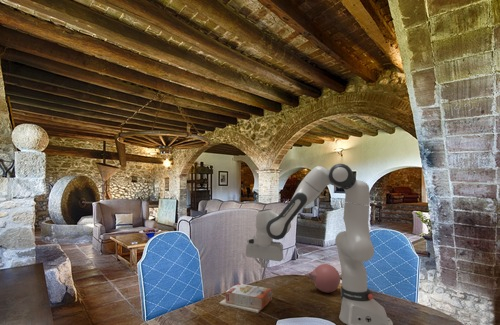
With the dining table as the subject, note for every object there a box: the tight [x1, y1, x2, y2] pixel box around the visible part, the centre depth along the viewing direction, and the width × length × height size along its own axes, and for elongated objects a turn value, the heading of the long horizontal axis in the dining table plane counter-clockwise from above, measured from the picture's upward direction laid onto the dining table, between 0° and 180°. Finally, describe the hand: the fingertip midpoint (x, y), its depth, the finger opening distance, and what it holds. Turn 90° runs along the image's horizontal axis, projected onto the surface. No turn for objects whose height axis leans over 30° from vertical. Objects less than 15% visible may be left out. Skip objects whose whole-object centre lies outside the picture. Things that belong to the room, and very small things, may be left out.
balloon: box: [304, 263, 341, 293], centre depth 162 cm, size 15×20×15 cm
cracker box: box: [225, 282, 273, 310], centre depth 147 cm, size 14×6×21 cm
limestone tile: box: [219, 297, 273, 314], centre depth 148 cm, size 22×18×1 cm
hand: (264, 267), depth 144 cm, fingers closed
